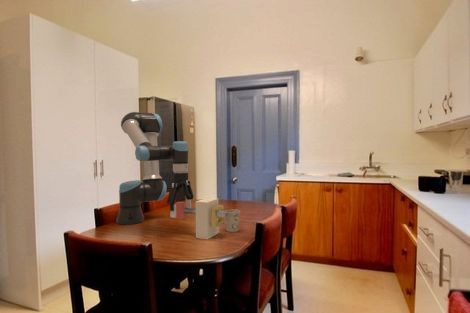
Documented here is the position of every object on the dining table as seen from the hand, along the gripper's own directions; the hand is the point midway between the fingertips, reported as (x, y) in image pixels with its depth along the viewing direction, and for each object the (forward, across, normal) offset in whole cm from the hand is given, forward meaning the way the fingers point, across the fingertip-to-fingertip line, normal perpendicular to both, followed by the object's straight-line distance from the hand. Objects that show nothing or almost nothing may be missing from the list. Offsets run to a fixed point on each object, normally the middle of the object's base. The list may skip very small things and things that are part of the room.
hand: (181, 214), depth 147 cm
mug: (+9, +14, -21) cm, 27 cm away
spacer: (+4, 0, -20) cm, 21 cm away
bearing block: (+9, 0, -15) cm, 17 cm away
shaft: (+2, 0, -11) cm, 11 cm away
